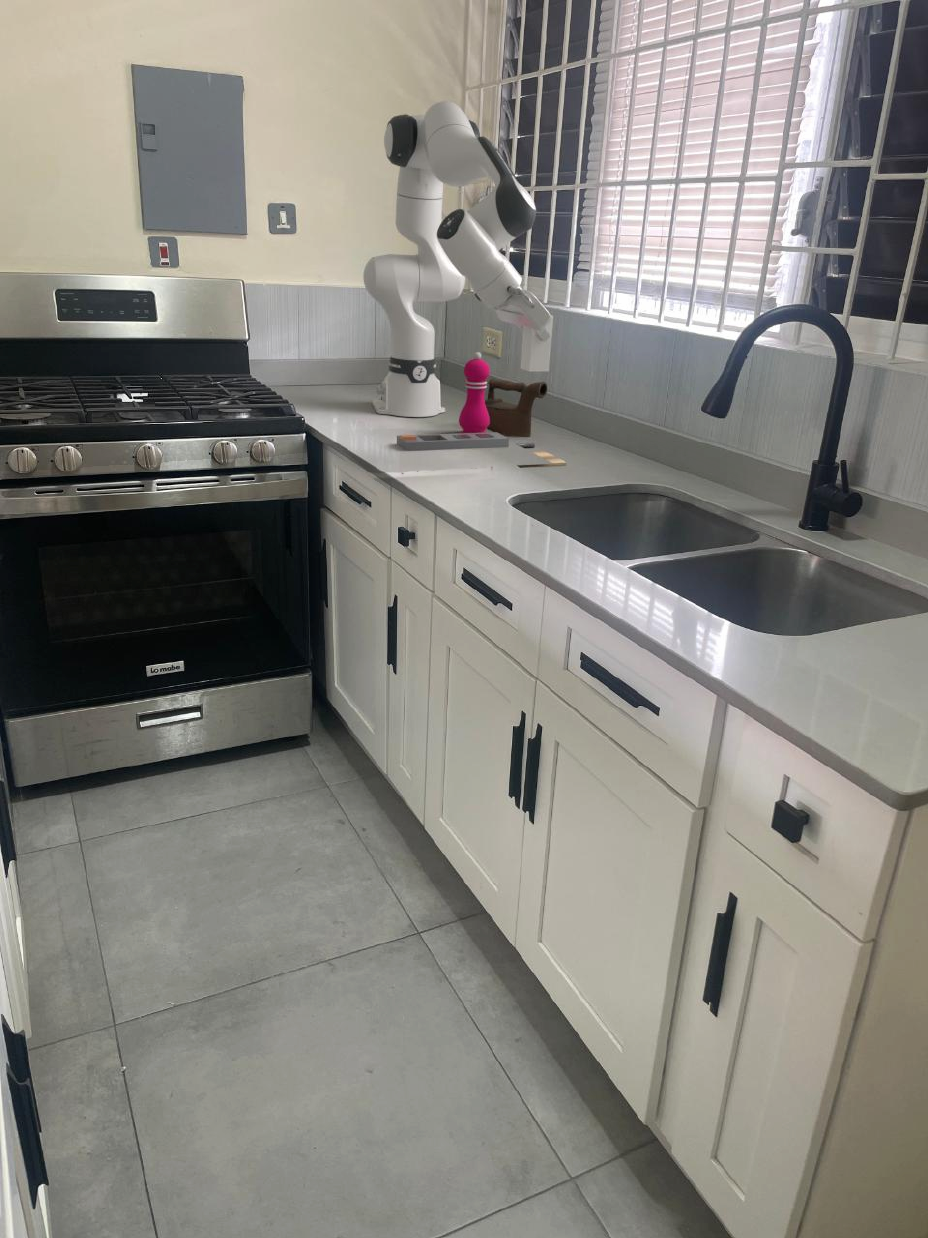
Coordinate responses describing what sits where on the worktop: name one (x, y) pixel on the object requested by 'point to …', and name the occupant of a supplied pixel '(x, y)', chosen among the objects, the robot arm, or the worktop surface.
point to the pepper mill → (475, 397)
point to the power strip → (455, 441)
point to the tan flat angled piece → (548, 457)
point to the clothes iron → (513, 407)
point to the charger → (536, 350)
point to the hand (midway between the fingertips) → (540, 337)
